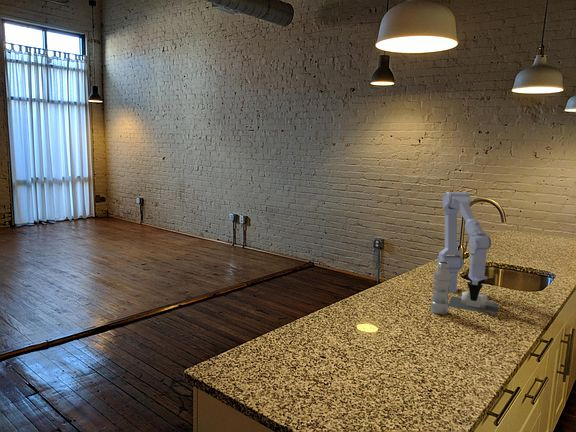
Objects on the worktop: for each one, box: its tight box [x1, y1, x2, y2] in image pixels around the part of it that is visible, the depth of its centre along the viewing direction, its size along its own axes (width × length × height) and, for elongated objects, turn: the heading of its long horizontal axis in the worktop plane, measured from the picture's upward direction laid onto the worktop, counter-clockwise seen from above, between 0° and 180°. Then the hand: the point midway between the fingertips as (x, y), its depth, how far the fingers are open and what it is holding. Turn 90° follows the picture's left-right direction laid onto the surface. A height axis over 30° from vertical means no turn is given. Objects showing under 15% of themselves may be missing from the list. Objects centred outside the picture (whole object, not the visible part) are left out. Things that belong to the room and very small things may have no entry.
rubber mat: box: [448, 295, 499, 316], centre depth 179 cm, size 18×14×1 cm
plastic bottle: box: [429, 262, 452, 315], centre depth 168 cm, size 6×7×20 cm
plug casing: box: [460, 290, 494, 308], centre depth 178 cm, size 12×4×4 cm, turn 63°
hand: (474, 297), depth 178 cm, fingers open, 7 cm apart
